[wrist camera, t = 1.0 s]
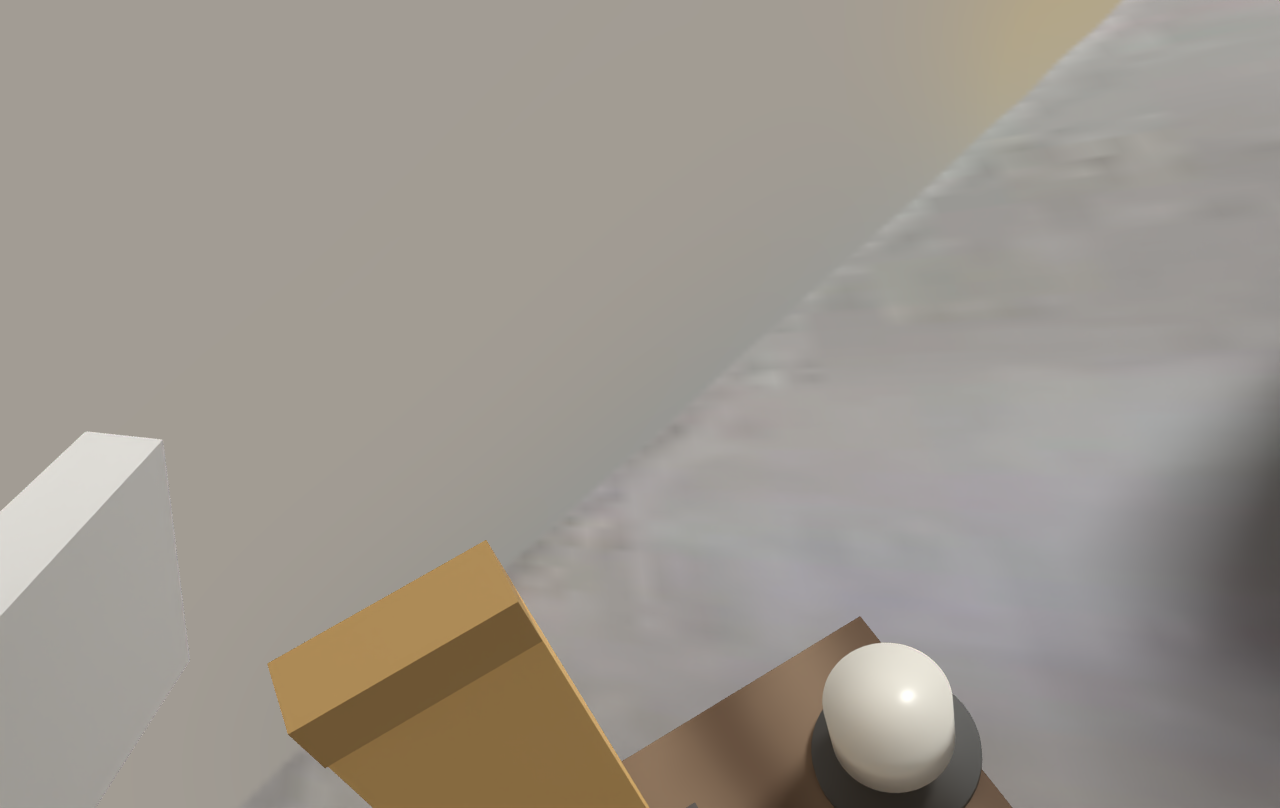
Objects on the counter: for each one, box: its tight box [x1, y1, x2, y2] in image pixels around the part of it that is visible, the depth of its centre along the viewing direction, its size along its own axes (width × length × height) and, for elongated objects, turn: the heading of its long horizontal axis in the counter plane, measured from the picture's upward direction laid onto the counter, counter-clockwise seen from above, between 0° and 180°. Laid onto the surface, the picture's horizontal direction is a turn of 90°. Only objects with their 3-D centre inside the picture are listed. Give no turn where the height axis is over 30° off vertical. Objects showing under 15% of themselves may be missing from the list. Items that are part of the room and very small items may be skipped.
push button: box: [822, 643, 956, 793], centre depth 36 cm, size 4×4×2 cm
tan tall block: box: [268, 540, 649, 808], centre depth 29 cm, size 5×2×18 cm, turn 117°
